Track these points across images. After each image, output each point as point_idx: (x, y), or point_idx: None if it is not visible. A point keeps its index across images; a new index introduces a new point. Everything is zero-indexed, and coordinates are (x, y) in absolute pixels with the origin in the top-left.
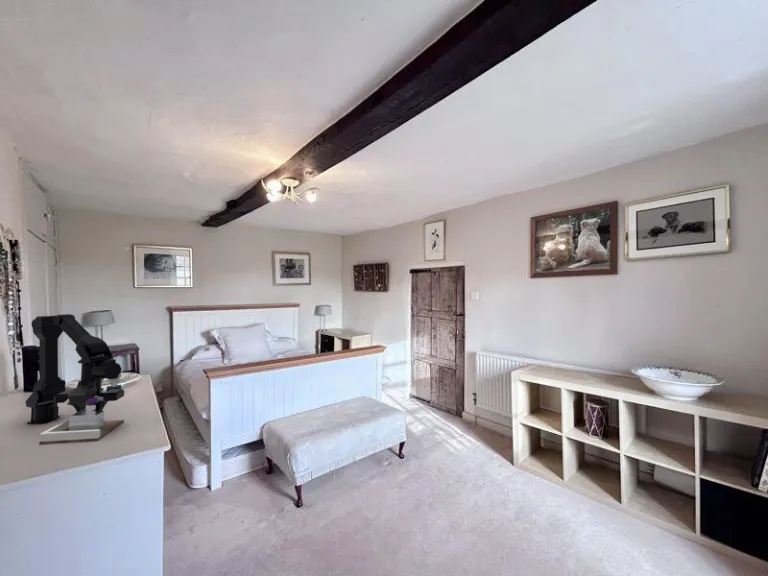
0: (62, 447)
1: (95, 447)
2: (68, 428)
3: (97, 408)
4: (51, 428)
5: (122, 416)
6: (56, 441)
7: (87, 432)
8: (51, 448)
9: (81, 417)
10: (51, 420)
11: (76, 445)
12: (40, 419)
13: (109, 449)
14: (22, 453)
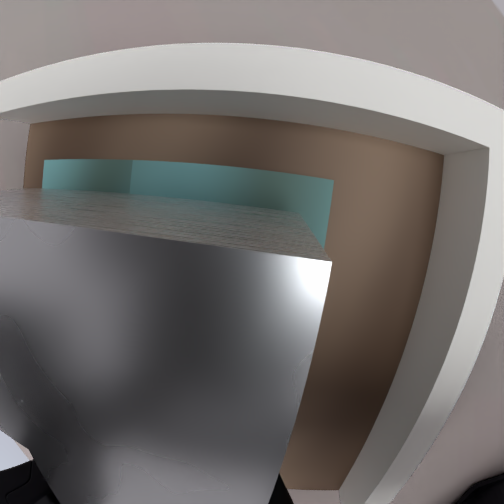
0: (237, 4)
1: (46, 12)
2: (368, 407)
3: (17, 486)
4: (493, 274)
5: None
6: None
7: (53, 69)
8: (316, 6)
9: (28, 208)
10: (460, 500)
11: (148, 26)
12: (498, 490)
13: (5, 8)
14: (456, 7)
